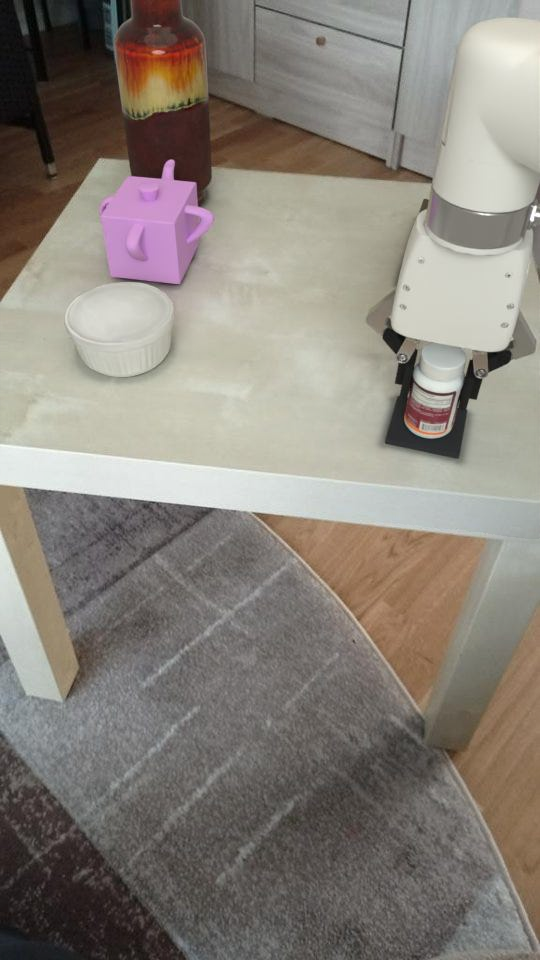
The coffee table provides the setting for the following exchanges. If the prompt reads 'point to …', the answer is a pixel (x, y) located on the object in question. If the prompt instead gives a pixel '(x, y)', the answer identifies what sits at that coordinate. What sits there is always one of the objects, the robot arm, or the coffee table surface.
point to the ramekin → (121, 327)
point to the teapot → (153, 227)
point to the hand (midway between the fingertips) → (434, 393)
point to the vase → (164, 93)
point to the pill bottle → (435, 390)
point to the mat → (440, 446)
